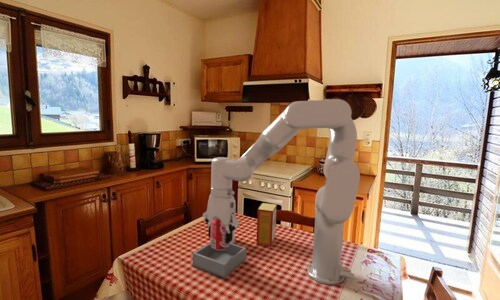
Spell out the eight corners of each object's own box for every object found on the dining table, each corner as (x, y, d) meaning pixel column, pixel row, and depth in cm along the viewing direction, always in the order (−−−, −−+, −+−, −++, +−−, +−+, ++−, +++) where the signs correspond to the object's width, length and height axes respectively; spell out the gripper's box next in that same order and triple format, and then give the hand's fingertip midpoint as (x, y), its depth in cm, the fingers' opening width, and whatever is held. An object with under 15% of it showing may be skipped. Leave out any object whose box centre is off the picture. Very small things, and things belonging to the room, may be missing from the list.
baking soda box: (261, 235, 121) (262, 202, 119) (275, 237, 119) (276, 203, 117) (256, 244, 112) (257, 208, 110) (271, 246, 110) (272, 210, 108)
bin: (245, 260, 99) (246, 248, 98) (224, 279, 87) (224, 265, 86) (216, 250, 106) (216, 238, 105) (192, 266, 94) (192, 253, 93)
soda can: (232, 244, 98) (233, 213, 97) (225, 253, 91) (226, 220, 90) (214, 241, 100) (215, 211, 99) (206, 250, 93) (207, 217, 92)
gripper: (247, 193, 92) (245, 241, 94) (209, 186, 101) (208, 230, 103) (235, 198, 86) (234, 250, 88) (195, 190, 94) (195, 236, 96)
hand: (220, 238), depth 95 cm, fingers closed on soda can, 7 cm apart
